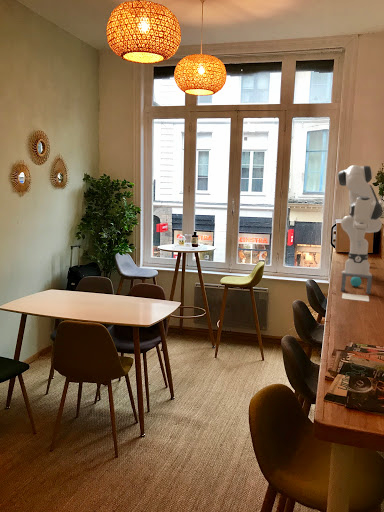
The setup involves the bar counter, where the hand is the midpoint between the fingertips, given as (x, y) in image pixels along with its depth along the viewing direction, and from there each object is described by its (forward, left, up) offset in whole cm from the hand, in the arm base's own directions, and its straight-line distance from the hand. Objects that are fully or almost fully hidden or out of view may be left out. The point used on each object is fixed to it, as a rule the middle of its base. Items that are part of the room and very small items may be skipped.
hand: (358, 248), depth 271 cm
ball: (+10, 0, -18) cm, 21 cm away
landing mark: (+40, 0, -21) cm, 45 cm away
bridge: (+26, 0, -21) cm, 34 cm away
